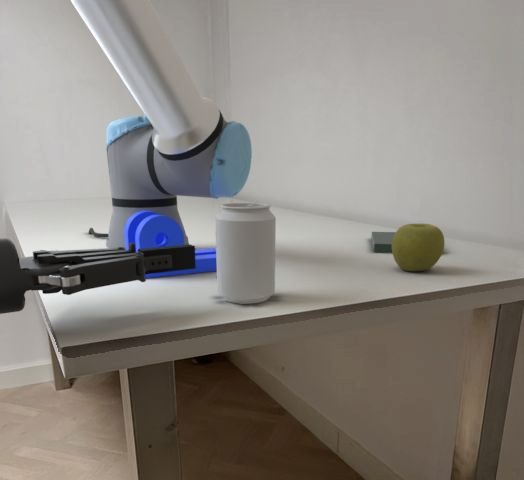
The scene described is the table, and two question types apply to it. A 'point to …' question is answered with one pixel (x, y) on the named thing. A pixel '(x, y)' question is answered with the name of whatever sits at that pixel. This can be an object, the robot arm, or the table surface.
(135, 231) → the bracket
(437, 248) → the apple
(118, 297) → the table surface
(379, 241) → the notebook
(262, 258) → the can
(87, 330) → the table surface
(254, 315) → the table surface
